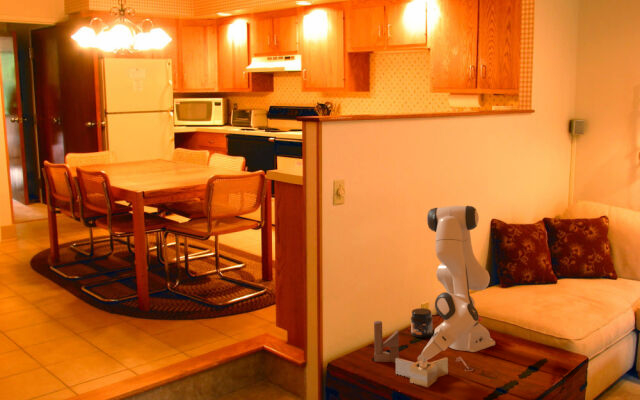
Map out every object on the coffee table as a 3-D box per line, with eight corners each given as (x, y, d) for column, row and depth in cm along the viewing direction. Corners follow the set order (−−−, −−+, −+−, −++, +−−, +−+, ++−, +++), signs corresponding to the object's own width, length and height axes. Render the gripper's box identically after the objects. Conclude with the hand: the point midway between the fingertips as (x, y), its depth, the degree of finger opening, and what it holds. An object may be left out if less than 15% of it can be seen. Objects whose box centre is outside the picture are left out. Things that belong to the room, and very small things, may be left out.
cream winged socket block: (448, 373, 263) (448, 357, 262) (429, 388, 250) (429, 371, 249) (411, 363, 274) (410, 348, 273) (391, 377, 262) (391, 361, 260)
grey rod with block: (398, 362, 275) (397, 323, 273) (374, 362, 277) (373, 323, 274) (398, 359, 279) (398, 321, 276) (374, 358, 281) (373, 320, 278)
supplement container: (406, 334, 308) (406, 310, 307) (421, 329, 315) (421, 306, 313) (421, 340, 300) (421, 316, 298) (437, 335, 306) (437, 311, 304)
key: (451, 359, 279) (461, 373, 264) (451, 357, 279) (461, 371, 264) (464, 357, 279) (474, 371, 264) (464, 355, 279) (474, 369, 264)
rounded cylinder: (424, 379, 259) (424, 356, 257) (428, 382, 256) (428, 359, 254) (418, 380, 257) (417, 357, 256) (422, 383, 254) (421, 360, 253)
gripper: (445, 320, 260) (422, 339, 265) (433, 338, 241) (409, 358, 246) (456, 331, 258) (433, 351, 264) (445, 350, 240) (420, 370, 245)
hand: (421, 355), depth 255 cm, fingers open, 8 cm apart
